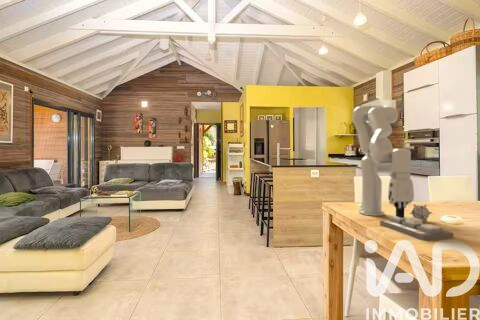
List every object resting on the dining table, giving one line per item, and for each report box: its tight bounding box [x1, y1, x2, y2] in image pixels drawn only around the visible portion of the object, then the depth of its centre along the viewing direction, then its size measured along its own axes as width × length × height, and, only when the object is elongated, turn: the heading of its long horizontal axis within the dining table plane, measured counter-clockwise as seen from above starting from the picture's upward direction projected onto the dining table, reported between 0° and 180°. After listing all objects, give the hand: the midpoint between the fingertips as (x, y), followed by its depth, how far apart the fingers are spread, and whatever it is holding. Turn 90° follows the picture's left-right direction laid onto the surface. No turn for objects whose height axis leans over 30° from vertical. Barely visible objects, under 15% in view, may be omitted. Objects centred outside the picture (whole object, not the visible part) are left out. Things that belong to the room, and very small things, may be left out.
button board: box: [379, 216, 454, 241], centre depth 125 cm, size 24×14×4 cm, turn 13°
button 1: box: [391, 215, 408, 220], centre depth 133 cm, size 4×4×2 cm
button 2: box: [421, 223, 440, 230], centre depth 117 cm, size 4×4×2 cm
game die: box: [409, 203, 433, 223], centre depth 142 cm, size 9×8×10 cm
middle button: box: [406, 216, 424, 225], centre depth 125 cm, size 4×4×2 cm
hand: (399, 216), depth 132 cm, fingers closed
